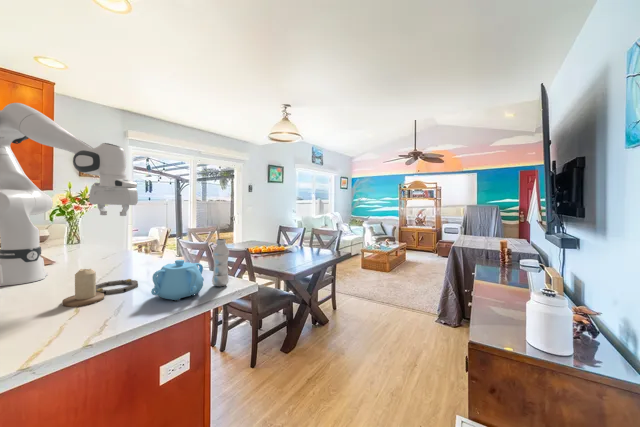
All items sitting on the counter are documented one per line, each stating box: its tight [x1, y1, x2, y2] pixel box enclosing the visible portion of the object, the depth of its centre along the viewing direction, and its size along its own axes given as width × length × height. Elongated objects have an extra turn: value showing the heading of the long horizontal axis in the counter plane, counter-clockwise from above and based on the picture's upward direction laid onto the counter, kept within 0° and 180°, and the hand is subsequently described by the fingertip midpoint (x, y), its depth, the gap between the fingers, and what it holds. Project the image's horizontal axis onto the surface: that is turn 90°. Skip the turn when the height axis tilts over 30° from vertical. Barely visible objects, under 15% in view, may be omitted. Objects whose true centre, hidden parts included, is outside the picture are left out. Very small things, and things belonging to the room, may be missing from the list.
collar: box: [96, 278, 139, 296], centre depth 107 cm, size 15×15×2 cm
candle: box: [74, 268, 97, 300], centre depth 94 cm, size 6×6×10 cm
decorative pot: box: [150, 259, 204, 301], centre depth 101 cm, size 16×16×14 cm
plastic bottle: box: [211, 238, 230, 287], centre depth 113 cm, size 6×7×20 cm
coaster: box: [61, 292, 105, 308], centre depth 93 cm, size 11×11×1 cm
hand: (113, 215), depth 112 cm, fingers open, 8 cm apart
